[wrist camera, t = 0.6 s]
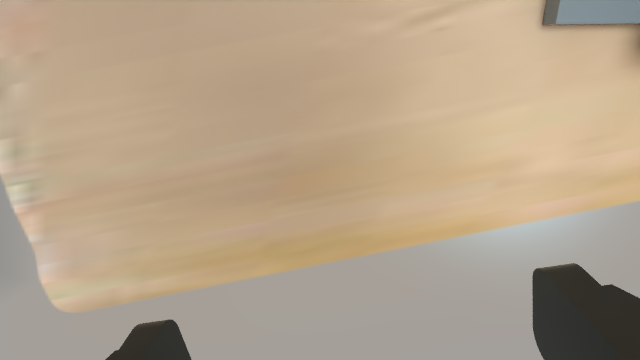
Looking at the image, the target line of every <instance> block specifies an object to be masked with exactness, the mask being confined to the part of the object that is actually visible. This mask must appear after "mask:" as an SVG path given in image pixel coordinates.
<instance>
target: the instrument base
mask: <svg viewBox="0 0 640 360" xmlns="http://www.w3.org/2000/svg"><path fill="white" fill-rule="evenodd" d="M578 24H640V0H547V2H546V8H545V13H544V19H543V25H578Z"/></svg>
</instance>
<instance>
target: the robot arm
mask: <svg viewBox="0 0 640 360" xmlns="http://www.w3.org/2000/svg"><path fill="white" fill-rule="evenodd" d="M533 331H534V336H535V340H536V343H537V346H538V348H539V351H540V353H541V355H542V357H543V358H544V360H640V298H638V297H635V296H634V295H632V294H630V293H628V292H626V291H624V290H622V289H620V288H618V287H616V286H613V285H604V286H601V285H600V284H599V283H598V282H597V281H596V280H595V279H594V278H592V277H591V276H590V275H589V274H588V273H587V272H586V271H585V270H584V269H583V268H582V267H580V266H579V265H577V264H574V263H573V264H566V265H558V266H552V267H545V268H537V269H535V271H534V273H533ZM106 360H191V357H190V355H189V352H188V350H187V348H186V345H185V342H184V340H183V337H182V335H181V332H180V330H179V327H178V325H177V324H176V322H174V321H173V320H164V321H157V322H150V323H143V324H138V325H137V326H136V327H135V328H134V329H133V330H132V331H131V333H130V334H129V336H128V337H127V339H126V340H125V342H124V343H123V345H122V346H121V347H120V349H119V350H117V351H114V352H113V353H112V354H111V355H110V356H109V357H108V358H107V359H106Z"/></svg>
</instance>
